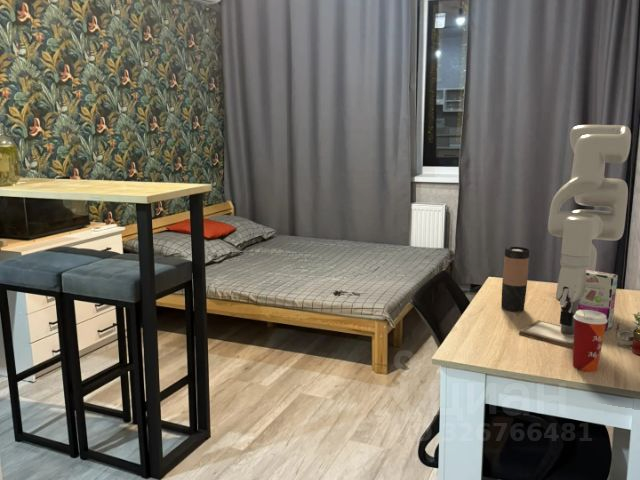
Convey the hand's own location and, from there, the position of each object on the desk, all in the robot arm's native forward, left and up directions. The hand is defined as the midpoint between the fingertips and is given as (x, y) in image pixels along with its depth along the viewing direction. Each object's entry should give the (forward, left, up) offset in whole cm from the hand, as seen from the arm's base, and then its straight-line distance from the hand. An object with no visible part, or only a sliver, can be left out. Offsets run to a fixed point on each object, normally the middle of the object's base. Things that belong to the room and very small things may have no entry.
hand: (568, 322), depth 165 cm
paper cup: (+19, +11, -4) cm, 22 cm away
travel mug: (-13, -23, -4) cm, 27 cm away
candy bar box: (-15, +1, -4) cm, 16 cm away
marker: (0, 0, -3) cm, 3 cm away
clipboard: (+2, -3, -4) cm, 5 cm away
